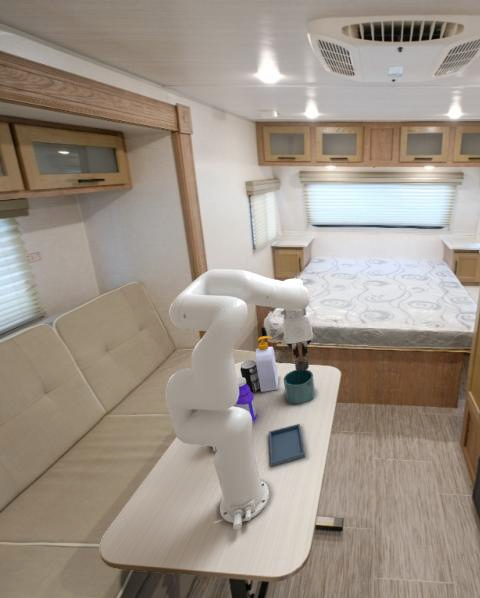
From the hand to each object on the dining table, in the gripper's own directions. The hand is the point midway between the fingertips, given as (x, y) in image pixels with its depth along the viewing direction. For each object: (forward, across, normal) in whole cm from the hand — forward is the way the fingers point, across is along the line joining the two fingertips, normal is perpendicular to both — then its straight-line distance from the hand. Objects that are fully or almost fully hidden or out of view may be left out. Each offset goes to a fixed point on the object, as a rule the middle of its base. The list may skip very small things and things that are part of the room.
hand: (300, 355), depth 132 cm
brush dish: (+19, -9, -25) cm, 33 cm away
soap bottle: (+19, -13, +12) cm, 26 cm away
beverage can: (+19, -20, +12) cm, 30 cm away
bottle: (+19, -22, -6) cm, 30 cm away
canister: (+19, -2, 0) cm, 19 cm away
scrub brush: (+6, 0, 0) cm, 6 cm away
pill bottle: (+19, -30, -16) cm, 39 cm away
